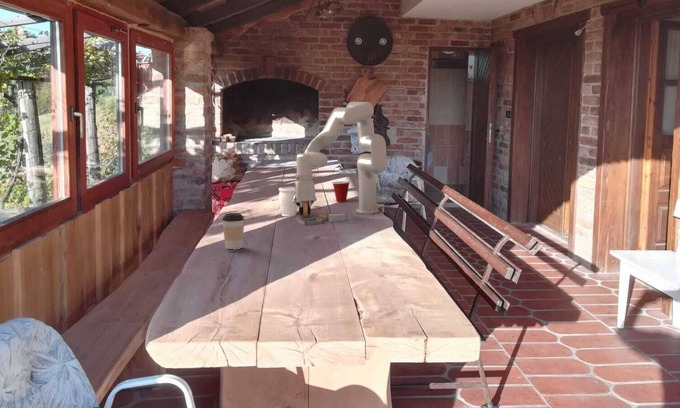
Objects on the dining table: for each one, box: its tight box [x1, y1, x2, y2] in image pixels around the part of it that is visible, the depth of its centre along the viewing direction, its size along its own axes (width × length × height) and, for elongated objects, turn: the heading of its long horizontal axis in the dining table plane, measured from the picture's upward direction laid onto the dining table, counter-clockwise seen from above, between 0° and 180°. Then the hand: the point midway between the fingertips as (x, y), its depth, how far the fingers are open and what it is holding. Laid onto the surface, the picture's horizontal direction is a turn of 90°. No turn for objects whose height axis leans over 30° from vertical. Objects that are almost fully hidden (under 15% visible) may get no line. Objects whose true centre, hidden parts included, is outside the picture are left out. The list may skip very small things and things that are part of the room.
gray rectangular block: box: [328, 213, 347, 223], centre depth 338 cm, size 8×3×4 cm, turn 117°
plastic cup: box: [331, 180, 351, 203], centre depth 398 cm, size 11×11×12 cm
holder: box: [295, 214, 313, 221], centre depth 342 cm, size 8×8×3 cm
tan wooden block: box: [318, 213, 333, 222], centre depth 343 cm, size 8×8×3 cm
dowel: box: [302, 201, 308, 217], centre depth 341 cm, size 3×3×10 cm
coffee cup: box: [222, 212, 245, 250], centre depth 284 cm, size 9×9×15 cm
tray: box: [296, 216, 325, 226], centre depth 333 cm, size 10×9×2 cm
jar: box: [278, 186, 299, 217], centre depth 353 cm, size 11×10×15 cm
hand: (304, 214), depth 341 cm, fingers closed on dowel, 3 cm apart
